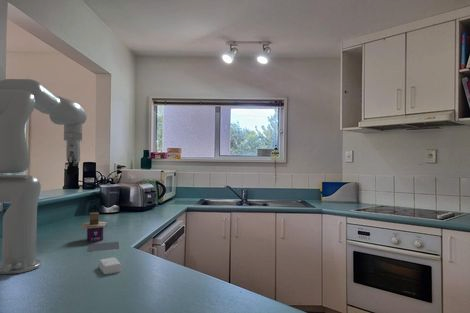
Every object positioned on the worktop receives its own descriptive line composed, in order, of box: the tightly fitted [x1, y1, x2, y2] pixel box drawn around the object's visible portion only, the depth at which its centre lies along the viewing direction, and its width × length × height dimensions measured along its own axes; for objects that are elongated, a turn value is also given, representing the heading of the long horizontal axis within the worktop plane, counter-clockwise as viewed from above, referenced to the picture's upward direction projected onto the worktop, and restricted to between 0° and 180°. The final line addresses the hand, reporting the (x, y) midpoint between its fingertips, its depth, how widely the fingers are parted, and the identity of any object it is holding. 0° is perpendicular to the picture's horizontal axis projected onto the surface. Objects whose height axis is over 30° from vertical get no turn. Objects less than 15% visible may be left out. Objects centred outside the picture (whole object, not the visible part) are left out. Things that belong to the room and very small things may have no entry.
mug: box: [86, 227, 104, 243], centre depth 144 cm, size 7×10×7 cm
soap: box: [98, 257, 122, 275], centre depth 106 cm, size 9×6×3 cm, turn 35°
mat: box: [86, 241, 120, 253], centre depth 132 cm, size 12×12×1 cm
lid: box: [80, 211, 108, 229], centre depth 144 cm, size 11×11×6 cm
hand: (72, 174), depth 145 cm, fingers open, 9 cm apart
